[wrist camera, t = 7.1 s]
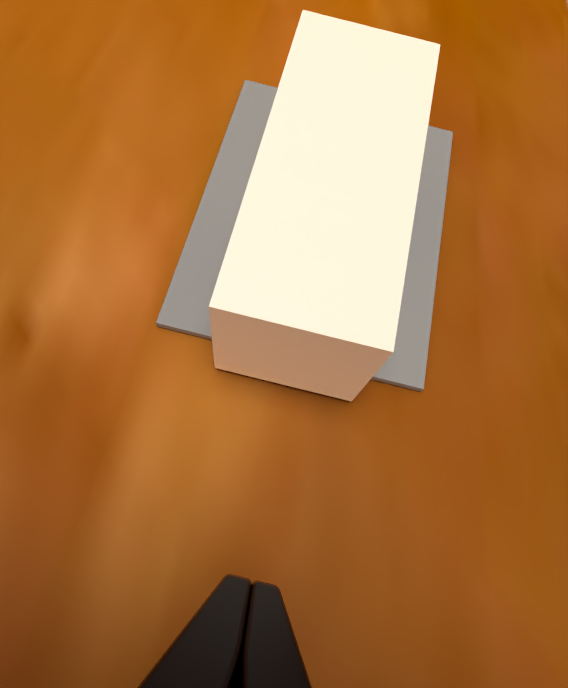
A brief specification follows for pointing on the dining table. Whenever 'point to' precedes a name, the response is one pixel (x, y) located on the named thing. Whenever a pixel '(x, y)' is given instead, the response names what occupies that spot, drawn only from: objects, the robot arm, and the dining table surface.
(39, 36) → the dining table surface
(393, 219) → the white rectangular block
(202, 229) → the mat
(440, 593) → the dining table surface
